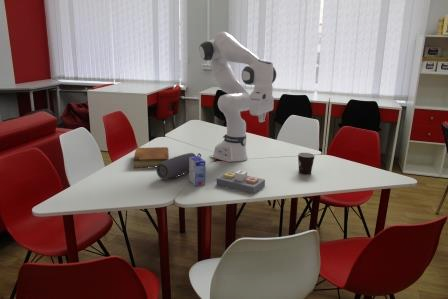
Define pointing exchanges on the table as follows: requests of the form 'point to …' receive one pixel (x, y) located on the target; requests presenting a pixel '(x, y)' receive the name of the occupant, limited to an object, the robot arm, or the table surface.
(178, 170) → the bluetooth speaker
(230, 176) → the key
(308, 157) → the coffee mug
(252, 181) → the key
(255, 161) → the table surface
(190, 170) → the ink cartridge box
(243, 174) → the key
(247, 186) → the grey keypad base
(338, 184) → the table surface
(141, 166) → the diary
